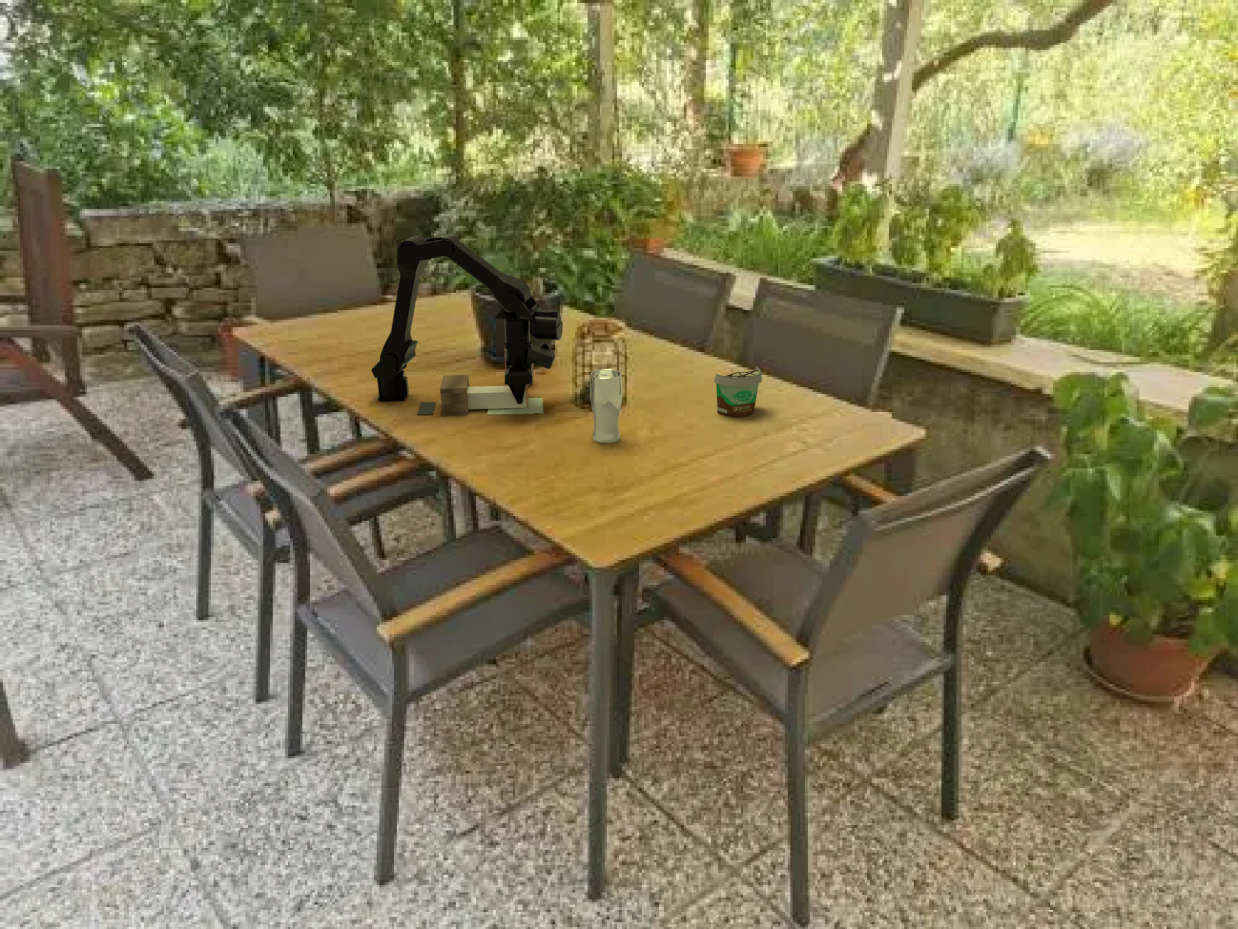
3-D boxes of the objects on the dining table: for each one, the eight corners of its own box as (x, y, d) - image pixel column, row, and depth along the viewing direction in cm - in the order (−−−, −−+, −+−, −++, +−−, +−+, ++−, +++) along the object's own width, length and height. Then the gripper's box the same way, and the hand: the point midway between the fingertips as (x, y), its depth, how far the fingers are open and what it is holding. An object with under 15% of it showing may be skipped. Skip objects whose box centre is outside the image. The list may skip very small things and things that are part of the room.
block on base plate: (466, 409, 211) (465, 385, 209) (467, 402, 215) (466, 378, 213) (528, 407, 212) (527, 383, 210) (528, 400, 216) (527, 377, 214)
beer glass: (627, 435, 199) (627, 371, 192) (613, 446, 193) (613, 380, 187) (599, 430, 201) (598, 366, 195) (584, 441, 196) (584, 375, 189)
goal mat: (487, 414, 209) (487, 414, 209) (489, 399, 218) (488, 399, 218) (543, 413, 210) (543, 412, 210) (542, 398, 219) (542, 397, 219)
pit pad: (417, 415, 209) (417, 414, 209) (420, 403, 216) (420, 402, 216) (432, 415, 209) (432, 413, 209) (435, 402, 216) (435, 401, 216)
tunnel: (442, 415, 209) (439, 388, 206) (445, 401, 217) (443, 375, 214) (468, 415, 209) (466, 388, 206) (470, 400, 218) (468, 374, 215)
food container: (726, 422, 206) (729, 381, 202) (712, 413, 211) (714, 373, 207) (770, 414, 211) (773, 373, 207) (754, 405, 216) (757, 366, 212)
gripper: (553, 348, 200) (555, 413, 206) (551, 325, 216) (552, 386, 223) (503, 349, 199) (506, 415, 205) (504, 326, 215) (507, 387, 222)
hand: (519, 400), depth 214 cm, fingers closed on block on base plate, 4 cm apart
